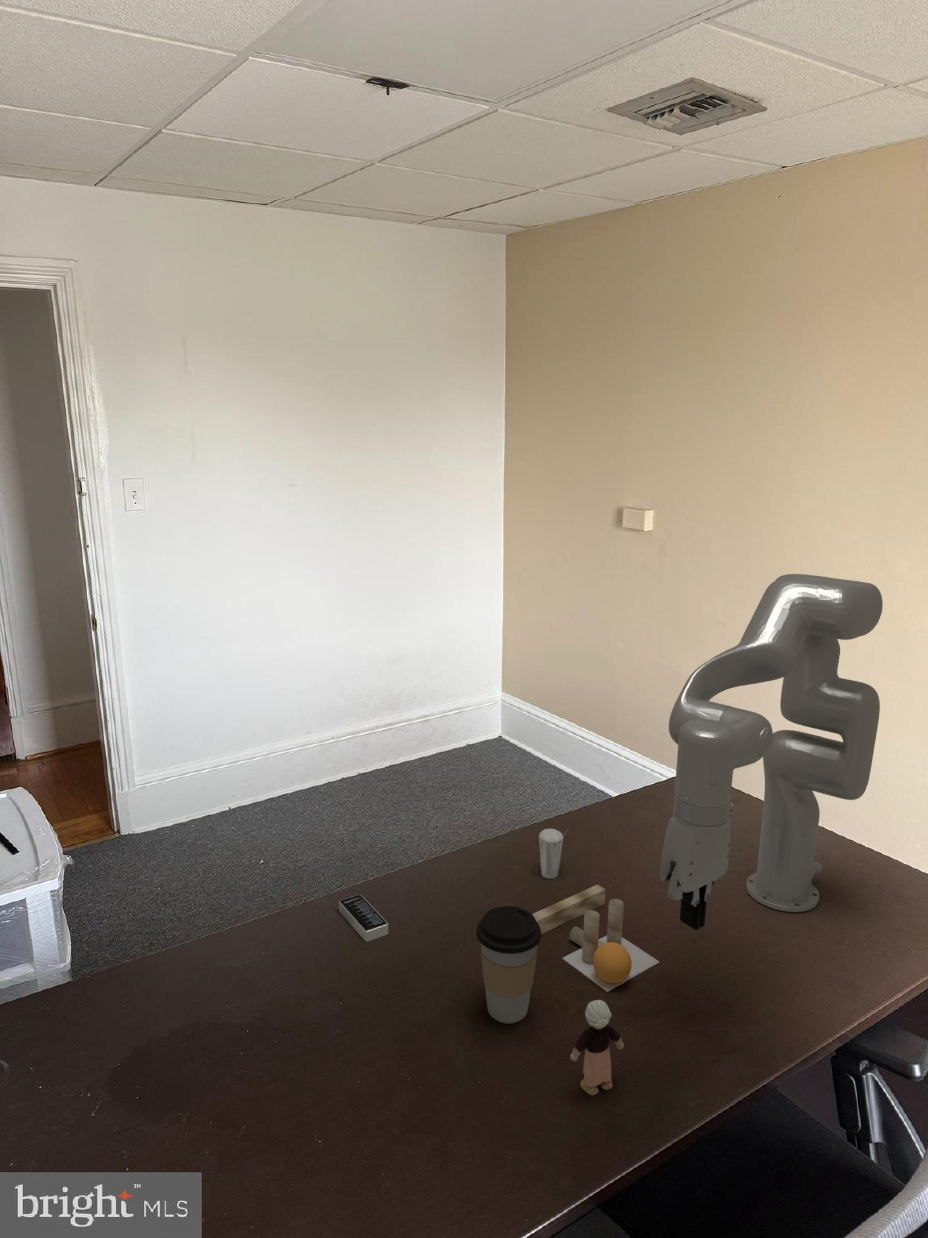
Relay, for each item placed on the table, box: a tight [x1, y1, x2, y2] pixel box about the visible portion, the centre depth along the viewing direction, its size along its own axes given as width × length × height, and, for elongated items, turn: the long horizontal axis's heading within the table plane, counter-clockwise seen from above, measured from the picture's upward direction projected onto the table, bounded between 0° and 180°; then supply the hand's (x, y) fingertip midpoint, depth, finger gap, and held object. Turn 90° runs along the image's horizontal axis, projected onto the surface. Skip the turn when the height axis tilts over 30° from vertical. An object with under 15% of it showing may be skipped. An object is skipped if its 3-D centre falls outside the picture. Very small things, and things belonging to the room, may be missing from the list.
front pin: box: [568, 926, 604, 948], centre depth 141 cm, size 2×2×8 cm
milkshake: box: [538, 828, 568, 880], centre depth 163 cm, size 4×5×10 cm
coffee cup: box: [475, 905, 542, 1025], centre depth 126 cm, size 9×9×15 cm
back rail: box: [531, 884, 606, 935], centre depth 149 cm, size 22×2×3 cm, turn 127°
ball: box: [593, 942, 632, 983], centre depth 134 cm, size 6×6×6 cm
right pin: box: [606, 898, 624, 945], centre depth 141 cm, size 2×2×8 cm
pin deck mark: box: [562, 935, 660, 993], centre depth 139 cm, size 12×10×1 cm
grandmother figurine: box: [569, 999, 625, 1096], centre depth 112 cm, size 8×4×13 cm, turn 123°
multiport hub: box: [338, 894, 389, 942], centre depth 149 cm, size 4×11×2 cm, turn 33°
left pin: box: [582, 910, 600, 965], centre depth 138 cm, size 2×2×8 cm
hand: (691, 923), depth 124 cm, fingers closed
